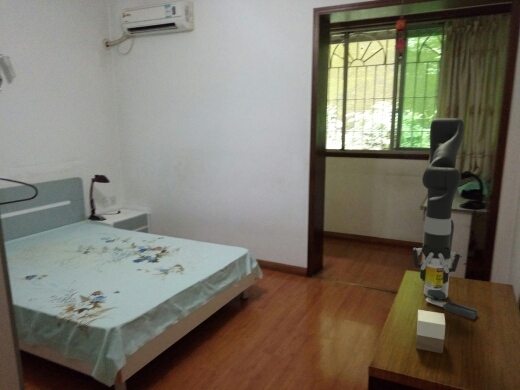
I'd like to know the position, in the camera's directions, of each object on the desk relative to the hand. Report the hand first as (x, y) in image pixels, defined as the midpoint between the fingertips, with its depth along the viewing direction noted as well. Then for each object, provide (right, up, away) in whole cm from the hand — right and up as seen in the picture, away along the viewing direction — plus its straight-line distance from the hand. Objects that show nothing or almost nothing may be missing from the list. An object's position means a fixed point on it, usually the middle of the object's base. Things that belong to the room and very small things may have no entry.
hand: (433, 281), depth 127 cm
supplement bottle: (0, -2, 0) cm, 2 cm away
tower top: (0, -17, +3) cm, 17 cm away
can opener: (+19, -18, +28) cm, 38 cm away
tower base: (0, -22, +4) cm, 22 cm away
